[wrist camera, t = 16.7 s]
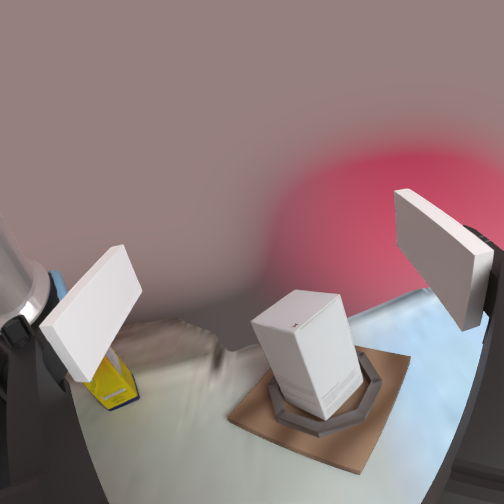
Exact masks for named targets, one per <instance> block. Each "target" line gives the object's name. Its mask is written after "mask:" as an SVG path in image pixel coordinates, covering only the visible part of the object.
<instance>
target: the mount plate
mask: <svg viewBox="0 0 504 504" xmlns="http://www.w3.org/2000/svg"><path fill="white" fill-rule="evenodd" d="M354 346H355V345H354ZM355 350H356V354H357V358H358V361H359V365H360V369H361V373H362V377H363V383H362V384H361V385H360V386H359V388H358V389H357V390H356V391H355V392H354V393H353V394H352V395H351V396H350V397H349V398H348V399H347V400H346V401H345V402H344V403H343V405H342V406H341V407H340V408H339V409H338V410H337V411H336V412H335V413H334V414H333V415H332V416H331V417H330V418H328V419H327V420H323V419H321V418H319V417H317V416H315V415H313V414H311V413H308V412H306V411H304V410H302V409H300V408H298V407H296V406H294V405H292V404H290V403H288V402H286V400H285V398H284V396H283V393H282V391H281V389H280V387H279V384H278V382H277V380H276V378H275V376H274V373H273V371H272V369H271V368H270V369H269V370H268V371H267V373H266V374H265V375H264V376H263V377H262V378H261V380H260V381H259V382H258V383H257V384H256V385H255V387H254V388H253V389H252V390H251V391H250V392H249V394H248V395H247V396H246V397H245V398H244V399H243V400H242V402H241V403H240V404H239V405H238V406H237V407H236V408H235V409H234V410H233V412H232V413H231V414H230V415H229V416H228V419H229V421H230V422H231V423H233V424H235V425H237V426H239V427H241V428H243V429H245V430H247V431H249V432H251V433H253V434H255V435H257V436H259V437H262V438H264V439H266V440H268V441H270V442H273V443H275V444H277V445H280V446H282V447H284V448H287V449H289V450H291V451H294V452H296V453H299V454H301V455H304V456H306V457H309V458H312V459H314V460H317V461H320V462H322V463H325V464H328V465H331V466H334V467H336V468H339V469H342V470H345V471H348V472H352V473H355V474H358V475H360V474H361V472H362V470H363V468H364V466H365V465H366V463H367V461H368V459H369V457H370V455H371V453H372V451H373V449H374V447H375V445H376V443H377V441H378V439H379V437H380V435H381V433H382V430H383V428H384V426H385V424H386V422H387V419H388V417H389V415H390V412H391V410H392V408H393V405H394V403H395V401H396V398H397V396H398V393H399V391H400V388H401V385H402V383H403V380H404V378H405V375H406V372H407V369H408V367H409V364H410V359H411V356H405V355H400V354H395V353H389V352H384V351H379V350H374V349H369V348H364V347H360V346H355Z"/></svg>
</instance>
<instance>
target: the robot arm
mask: <svg viewBox="0 0 504 504" xmlns="http://www.w3.org/2000/svg"><path fill="white" fill-rule="evenodd" d="M394 197H395V212H396V231H397V246H398V247H399V249H400V250H401V251H402V252H403V253H404V255H405V256H406V257H407V258H408V260H409V261H410V262H411V263H412V265H413V266H414V267H415V268H416V270H417V271H418V272H419V273H420V275H421V276H422V277H423V278H424V280H425V281H426V282H427V284H428V285H429V286H430V288H431V289H432V290H433V292H434V293H435V294H436V296H437V297H438V298H439V300H440V301H441V303H442V304H443V305H444V307H445V308H446V309H447V311H448V312H449V314H450V315H451V316H452V318H453V319H454V321H455V322H456V324H457V325H458V327H459V328H460V329H461V331H462V332H463V331H466V330H469V329H471V328H474V327H477V326H480V323H481V319H482V315H483V311H485V313H486V314H487V315H488V316H489V321H488V325H487V329H486V332H485V336H484V339H483V342H482V344H483V348H482V352H481V356H480V360H479V364H478V367H477V371H476V375H475V378H474V381H473V385H472V388H471V391H470V394H469V397H468V400H467V403H466V406H465V409H464V412H463V415H462V417H461V420H460V423H459V425H458V428H457V430H456V433H455V435H454V438H453V440H452V443H451V445H450V447H449V449H448V452H447V454H446V456H445V458H444V460H443V463H442V465H441V467H440V469H439V471H438V473H437V475H436V477H435V479H434V481H433V483H432V485H431V486H430V488H429V490H428V492H427V494H426V496H425V497H424V499H423V501H422V503H421V504H504V251H503V250H501V249H500V248H499V247H498V246H496V245H495V244H494V243H493V242H491V241H489V239H487V238H486V237H484V236H483V235H482V234H480V233H479V232H478V231H477V230H475V229H473V228H470V227H468V226H465V225H463V226H462V225H461V224H459V223H458V222H457V221H455V220H454V219H453V218H451V217H450V216H448V215H447V214H446V213H444V212H443V211H441V210H440V209H439V208H437V207H436V206H434V205H433V204H431V203H430V202H428V201H427V200H425V199H424V198H422V197H421V196H419V195H418V194H416V193H415V192H413V191H412V190H410V189H403V190H397V191H394ZM141 293H142V289H141V286H140V284H139V282H138V279H137V277H136V275H135V272H134V270H133V267H132V265H131V263H130V260H129V258H128V255H127V253H126V250H125V248H124V245H118V246H114V247H111V248H110V249H109V250H108V251H107V252H106V253H105V254H104V255H103V256H102V257H101V258H100V259H99V260H98V261H97V262H96V263H95V264H94V265H93V266H92V267H91V269H90V270H89V271H88V272H87V273H86V274H85V275H84V276H83V277H82V278H81V279H80V280H79V281H78V282H77V283H76V284H75V286H74V287H73V288H72V289H71V290H70V291H69V292H68V290H67V288H66V285H65V282H64V279H63V277H62V274H61V272H60V271H59V270H54V271H52V270H51V271H49V272H48V273H47V271H46V269H45V268H44V267H43V266H42V265H41V264H40V263H38V262H37V261H34V260H29V259H26V257H25V256H24V254H23V252H22V250H21V249H20V247H19V245H18V243H17V242H16V240H15V238H14V236H13V234H12V233H11V230H10V228H9V226H8V225H7V223H6V221H5V219H4V217H3V215H2V213H1V211H0V504H109V502H108V500H107V498H106V496H105V493H104V491H103V489H102V486H101V484H100V481H99V479H98V476H97V474H96V471H95V469H94V466H93V463H92V461H91V458H90V455H89V452H88V449H87V446H86V443H85V440H84V437H83V434H82V431H81V427H80V424H79V421H78V417H77V413H76V410H75V406H74V402H73V398H72V394H71V390H70V386H69V383H68V381H67V380H66V379H65V377H64V376H65V375H66V373H67V371H68V372H69V373H70V375H71V376H72V377H73V379H74V380H75V381H76V382H88V383H90V381H91V379H92V377H93V375H94V374H95V372H96V370H97V368H98V366H99V364H100V363H101V361H102V359H103V357H104V355H105V354H106V352H107V350H108V348H109V347H110V345H111V343H112V341H113V340H114V338H115V336H116V334H117V333H118V331H119V329H120V327H121V326H122V324H123V322H124V321H125V319H126V317H127V316H128V314H129V312H130V311H131V309H132V307H133V306H134V303H135V302H136V301H137V299H138V297H139V296H140V294H141Z"/></svg>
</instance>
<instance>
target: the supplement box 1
mask: <svg viewBox="0 0 504 504" xmlns="http://www.w3.org/2000/svg"><path fill="white" fill-rule="evenodd" d="M82 383H83V384H84V385H85V386H86V387H87V389H88V390H89V391H90V392H91V393H92V394H93V395H94V396H95V397H96V398H97V399H98V400H99V401H100V402H101V403H102V404H103V405H104V406H105V407H106V408H107V409H108V410H109V411H112V410H115V409H117V408H120V407H122V406H125V405H127V404H129V403H131V402H133V401H135V400H137V399H139V398H140V397H139V393H138V390H137V386H136V383H135V380H134V376H133V374H132V373H131V372H130V371H129V369H128V368H127V367H126V366H125V364H124V363H123V362H122V360H121V359H120V358H119V357H118V355H117V354H116V353H115V351H114V350H113V349H112V347H111V346H110V347H109V348H108V350H107V352H106V354H105V355H104V357H103V359H102V361H101V363H100V364H99V366H98V368H97V370H96V372H95V374H94V375H93V377H92V379H91V381H90V383H88V382H82Z"/></svg>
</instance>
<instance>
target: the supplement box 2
mask: <svg viewBox="0 0 504 504" xmlns="http://www.w3.org/2000/svg"><path fill="white" fill-rule="evenodd" d="M251 324H252V326H253V329H254V331H255V333H256V336H257V338H258V340H259V343H260V345H261V347H262V349H263V351H264V354H265V356H266V358H267V360H268V362H269V365H270V367H271V369H272V371H273V373H274V376H275V378H276V380H277V382H278V384H279V387H280V389H281V391H282V393H283V396H284V398H285V400H286V402H288V403H290V404H292V405H294V406H296V407H298V408H300V409H302V410H304V411H306V412H308V413H311V414H313V415H315V416H317V417H319V418H321V419H323V420H327V419H328V418H330V417H331V416H332V415H333V414H334V413H335V412H336V411H337V410H338V409H339V408H340V407H341V406H342V405H343V403H344V402H345V401H346V400H347V399H348V398H349V397H350V396H351V395H352V394H353V393H354V392H355V391H356V390H357V389H358V388H359V386H360V385H361V384H362V383H363V377H362V373H361V369H360V365H359V361H358V358H357V354H356V350H355V346H354V343H353V339H352V335H351V331H350V328H349V325H348V321H347V317H346V314H345V311H344V308H343V304H342V300H341V297H340V295H339V294H330V293H320V292H311V291H302V290H294V291H293V292H291V293H289V294H288V295H287V296H285V297H284V298H282V299H281V300H280V301H278V302H277V303H275V304H274V305H273V306H271V307H270V308H268V309H267V310H266V311H264V312H263V313H262V314H260V315H259V316H258V317H256V318H255V319H253V320H251Z"/></svg>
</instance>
